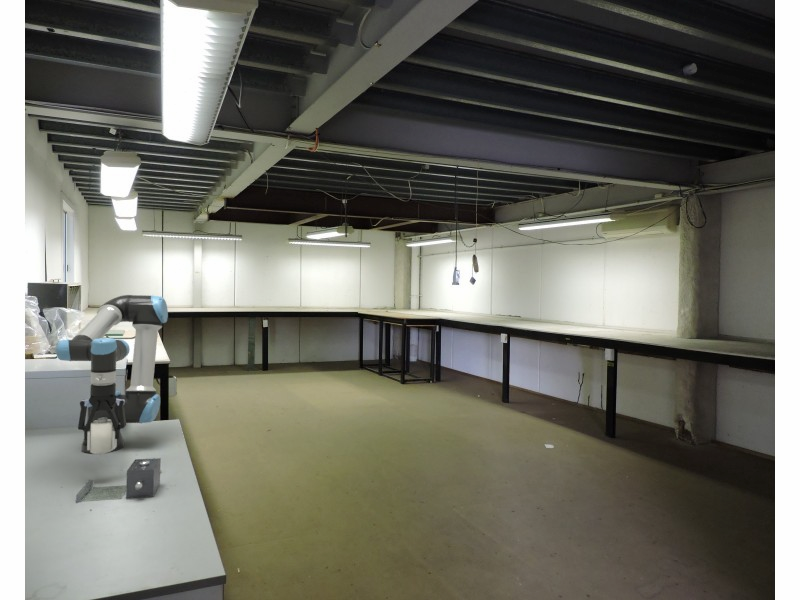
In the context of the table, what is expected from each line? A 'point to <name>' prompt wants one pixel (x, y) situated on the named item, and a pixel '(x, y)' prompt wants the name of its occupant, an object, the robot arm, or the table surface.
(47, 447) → the table surface
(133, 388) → the robot arm
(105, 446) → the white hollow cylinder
